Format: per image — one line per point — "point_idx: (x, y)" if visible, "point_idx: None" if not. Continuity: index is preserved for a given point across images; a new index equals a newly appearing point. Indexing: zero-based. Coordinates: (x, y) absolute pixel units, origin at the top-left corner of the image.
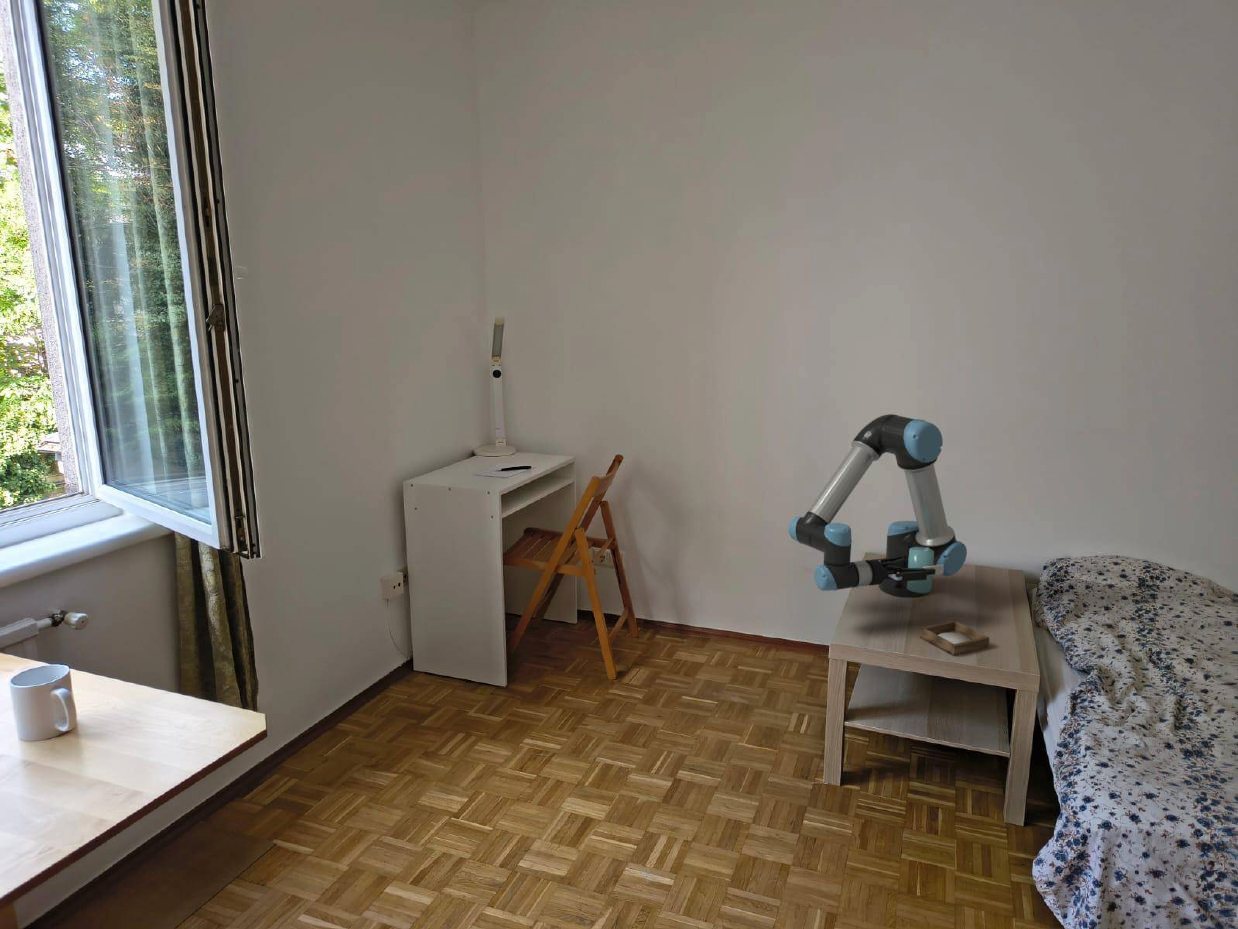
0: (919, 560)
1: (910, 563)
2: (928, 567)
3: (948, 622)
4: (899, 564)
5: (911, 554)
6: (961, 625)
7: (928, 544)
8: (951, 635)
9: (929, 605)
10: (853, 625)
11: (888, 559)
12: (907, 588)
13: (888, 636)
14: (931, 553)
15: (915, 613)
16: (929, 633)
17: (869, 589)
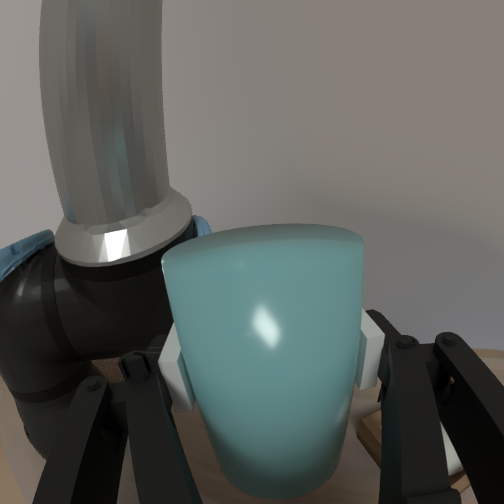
0: (356, 308)
1: (282, 391)
2: (371, 319)
3: (378, 434)
4: (182, 463)
5: (284, 301)
6: None
7: (144, 246)
8: None
9: (186, 432)
10: None
11: (73, 497)
12: (270, 498)
13: None
14: (327, 227)
15: (223, 488)
16: (464, 487)
17: (34, 478)
